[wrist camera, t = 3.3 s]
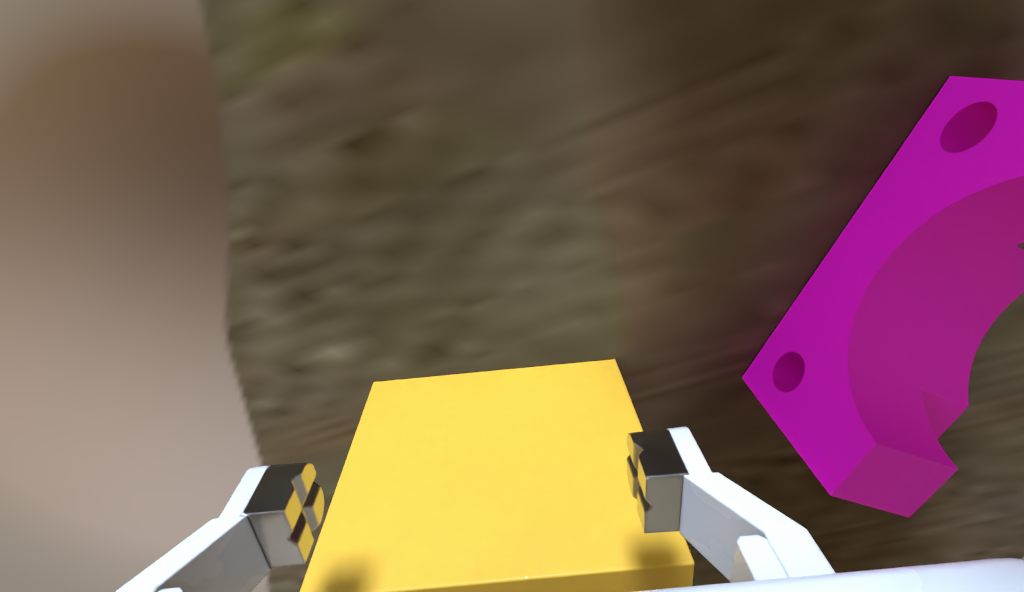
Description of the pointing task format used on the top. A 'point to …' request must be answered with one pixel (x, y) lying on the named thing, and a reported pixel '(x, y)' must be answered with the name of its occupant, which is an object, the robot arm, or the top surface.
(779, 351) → the magenta u-shaped bracket
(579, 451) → the yellow block
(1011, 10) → the top surface
